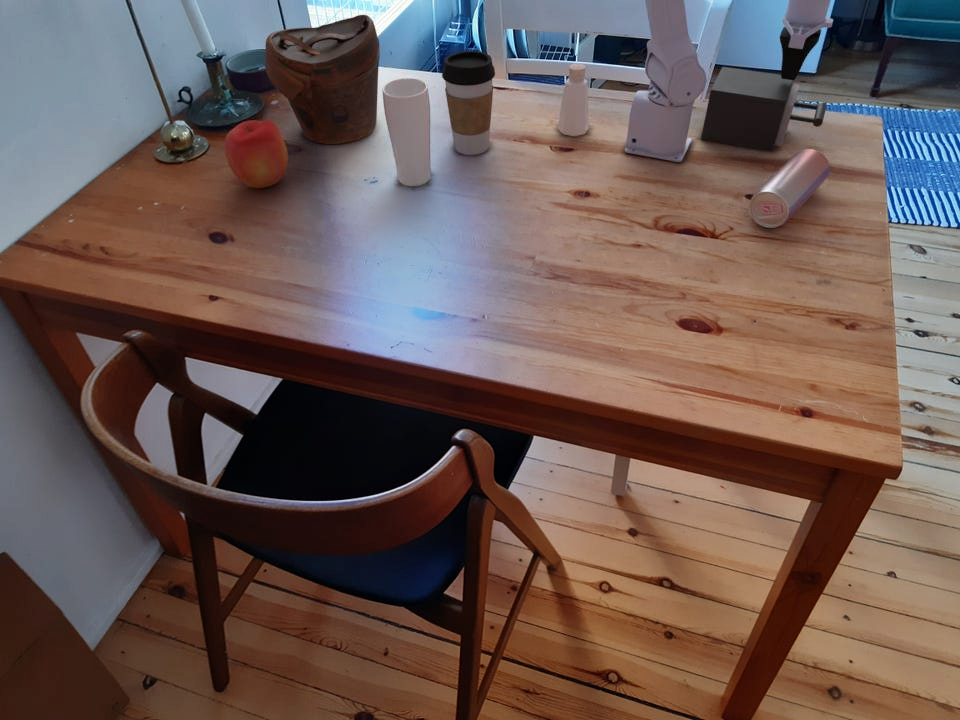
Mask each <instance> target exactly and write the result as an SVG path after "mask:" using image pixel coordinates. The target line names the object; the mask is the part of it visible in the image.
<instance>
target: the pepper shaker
mask: <svg viewBox="0 0 960 720" xmlns="http://www.w3.org/2000/svg"><path fill="white" fill-rule="evenodd" d="M586 70H587V67H586V65H585V64H583V63H579V62H578V63H577V62H576V63H572V64H570V65H569V66H568V78H567V79H566V80H565V82H564V86H563V92H562V99H561V105H560V111H559V117H558V123H557V130H558V131H559V132H560V133H561V134H562V135H563V136H564V135H565V136H570V137H578V136H582V135H586V133H587V132H588V130H589V128H590V124H589V123H590V119H589V118H590V117H589V82H588V81H587V80H586V79H585V76H586Z"/></svg>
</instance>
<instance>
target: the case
mask: <svg viewBox="0 0 960 720" xmlns="http://www.w3.org/2000/svg"><path fill="white" fill-rule="evenodd" d="M377 33H378V32H377V30H376V26H375V23H374V21H373V19H372V17H370V16H369V15H367V14H358V15H355V16H353V17H349V18H344V19H340V20H336V21H334V22H330V23H326V24H322V25H319V26H315V27H294V28H286V29H280V30H277V31H273V32H272V33H270V34H269V35H268V36H267V37H266V40H265V54H264V55H265V57H264V70H265V73H266V76H267V77H268V80H269V82H270V83H271V84H272V85H273V87H274V88H275V89H276V90H277V91H278V92H279V93H280V94H281V95H283V96H284V98H286V99H287V101H288V103H289V105H290V108H291V109H292V111H293V113H294V116H295V118H296V120H297V122H298V124H299V126H300V128H301V131H302V134H303V136H304V137H305V138H307V139H308V140H309V141H311V142H314V143H318V144H325V145H334V144H335V145H338V144H345V143H350V142H354V141H357V140H361V139H363V138H366V137H367V136H368V135H370V134H371V133H372V132H373V131H374V130H375V129H376V126H377V122H378V121H377V120H378V94H379V93H378V92H379V91H378V90H379V65H380V58H381V56H380V55H381V50H380V39H379V37H378V34H377Z"/></svg>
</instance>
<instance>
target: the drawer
mask: <svg viewBox="0 0 960 720" xmlns="http://www.w3.org/2000/svg"><path fill="white" fill-rule="evenodd" d="M800 86H801V84H797V83H792V86H791V89H790V92H789V95H788V98H787V101H786V104H785V108H784V111H783V115H782V118H781V122H780V125H779V129H778V133H777V136H776V140H775V143H774V146H779V147H782V146H783V143H784V140H785V136H786V134H787V130H788V127H789V123H790V120H791V121H798V122H802V123H803V122H804V123H811V124H812V125H813V126H814V127H816V128H817V127H821V126H822V125H823V123H824V119H825V115H826V110H827V104H826V103H825V102H819V103H818V104H814V103H807V102H800V101H796V100H797V96H798V93H799V89H800ZM794 107H795V108H802V109H808V110H809V109H810V110H815V113H814V115H813V117H809V116H802V115H797V114H792V113H793V110H794Z"/></svg>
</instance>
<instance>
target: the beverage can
mask: <svg viewBox="0 0 960 720" xmlns="http://www.w3.org/2000/svg"><path fill="white" fill-rule="evenodd" d="M830 167H831V166H830V163H829V160H828V158H827V157H826V156H825V155H824V153H822V152H821V151H819V150H816V149H812V148H804V149H800V150H798V151H796V152H795V153H794V154H793V155H792V156H791V157H790V158H789V159H788V160H787V161H786V162H785V163H784V164H783V165H781V166H780V168H778V170H777V171H776V172H775V173H774V174H772V176H770V177H769V179H767V180H766V181H765V182H764V183H763V185H761V186H760V187H759V188H758V189H757V190H756V191H755V193H753V194H752V197H751V198H750V200H749V202H748V203H749V204H748V212H749V215H750V217H751V219H752V220H753V221H754V222H755V223H756V224H757V225H759V226H761V227H763V228H766V229H774V228H778V227H781V226H782V225H784V224H785V223H787V222H788V221H789V220H790V219H791V218H792V217H793V216H794V215H795V214H796V213H797V212H798V210H800V208H801V207H802V206H803V205H804V204H805V203H806V202H807V201H808V200H809V198H810V197H812V196H813V194H814V193H815V192H816V191H817V190H819V188H820V187H821V186H822V185H823V184H824V182H826V180H827V179H828V177H829V175H830V170H831V169H830Z"/></svg>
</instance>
